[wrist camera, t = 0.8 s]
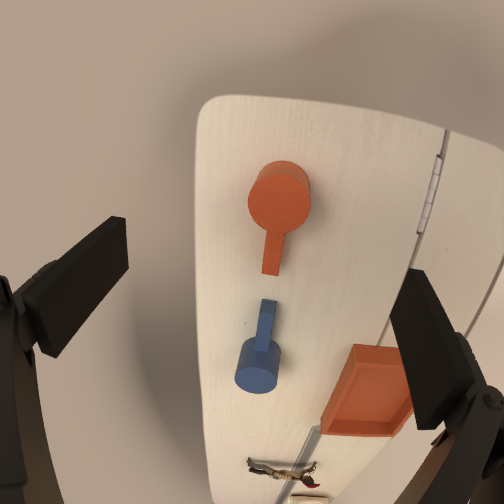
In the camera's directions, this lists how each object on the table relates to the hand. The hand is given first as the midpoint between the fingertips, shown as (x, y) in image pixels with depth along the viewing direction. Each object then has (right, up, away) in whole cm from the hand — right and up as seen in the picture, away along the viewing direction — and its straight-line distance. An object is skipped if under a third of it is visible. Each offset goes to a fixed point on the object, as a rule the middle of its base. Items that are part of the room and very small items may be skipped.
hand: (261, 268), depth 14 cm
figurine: (+6, -40, +39) cm, 56 cm away
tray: (+17, -18, +26) cm, 36 cm away
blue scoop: (+1, -9, +23) cm, 25 cm away
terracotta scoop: (+2, +4, +16) cm, 17 cm away
